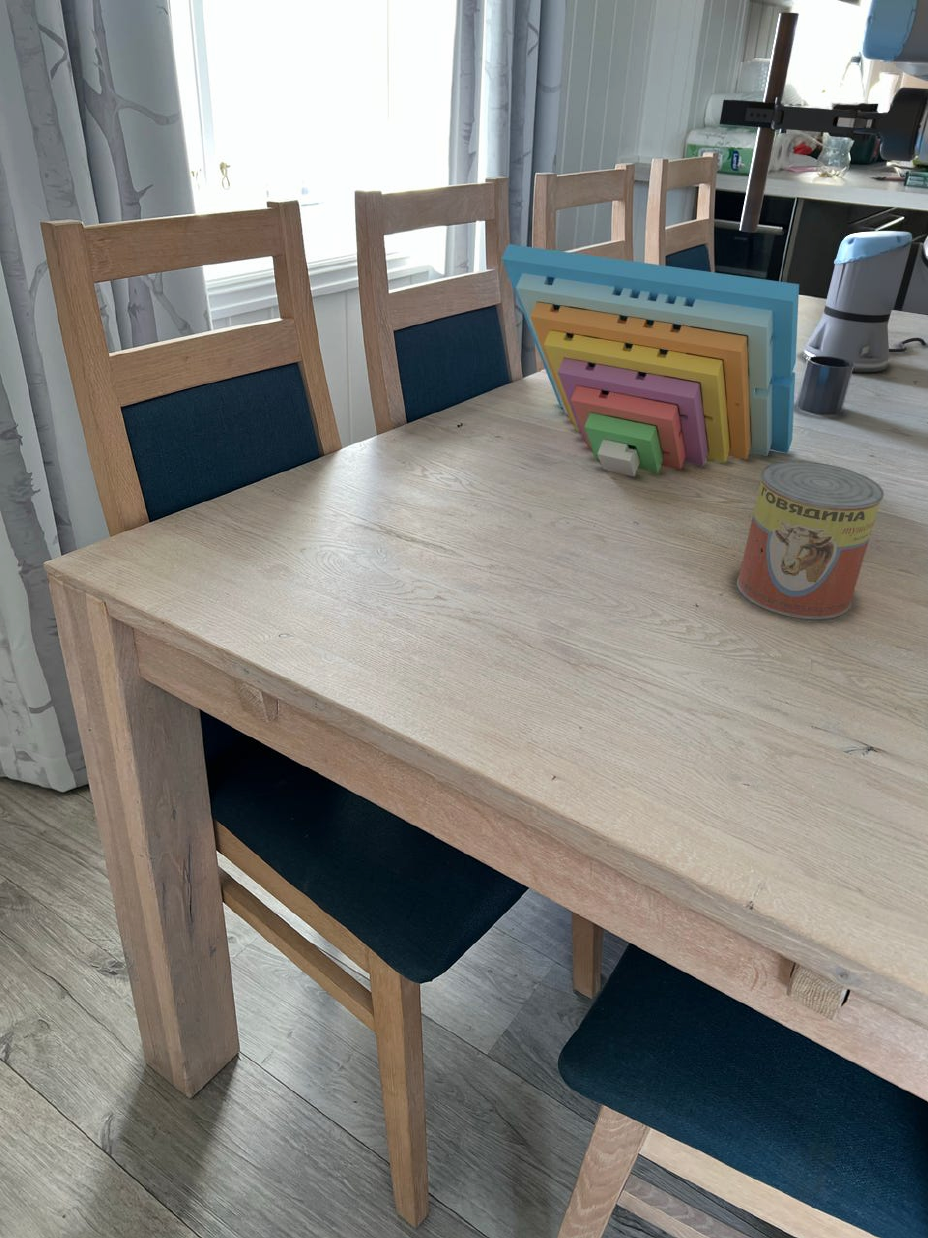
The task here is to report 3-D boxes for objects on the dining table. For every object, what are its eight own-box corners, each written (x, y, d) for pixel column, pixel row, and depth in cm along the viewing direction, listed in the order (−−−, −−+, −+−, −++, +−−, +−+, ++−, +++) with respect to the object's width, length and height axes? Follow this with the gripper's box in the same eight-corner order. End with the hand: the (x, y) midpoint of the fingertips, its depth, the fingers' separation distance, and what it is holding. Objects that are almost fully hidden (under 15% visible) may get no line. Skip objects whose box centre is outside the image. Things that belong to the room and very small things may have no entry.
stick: (742, 228, 124) (782, 13, 112) (758, 231, 123) (800, 13, 111) (737, 230, 122) (777, 11, 110) (753, 232, 122) (796, 12, 109)
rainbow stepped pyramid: (524, 493, 143) (455, 366, 112) (564, 393, 147) (508, 243, 115) (754, 550, 130) (749, 424, 98) (792, 439, 133) (799, 284, 102)
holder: (801, 401, 155) (812, 353, 151) (844, 410, 152) (857, 360, 148) (790, 412, 150) (802, 361, 146) (835, 421, 147) (848, 370, 143)
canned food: (727, 602, 94) (753, 490, 88) (746, 558, 103) (770, 453, 97) (846, 630, 90) (880, 515, 84) (854, 582, 99) (886, 475, 93)
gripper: (904, 165, 105) (701, 147, 115) (924, 159, 116) (737, 142, 126) (924, 88, 101) (712, 76, 111) (943, 89, 112) (749, 78, 122)
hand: (726, 111), depth 118 cm, fingers closed on stick, 2 cm apart
